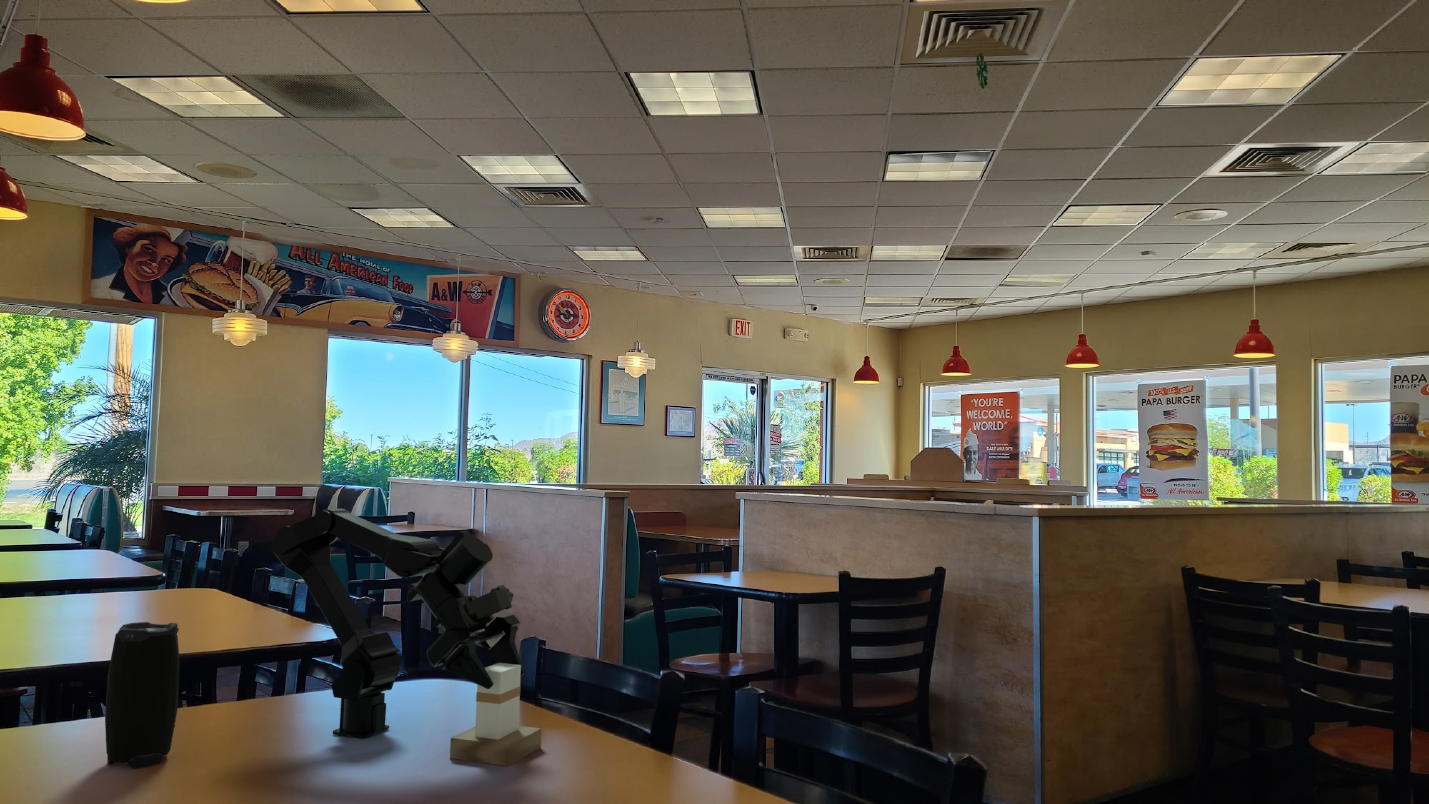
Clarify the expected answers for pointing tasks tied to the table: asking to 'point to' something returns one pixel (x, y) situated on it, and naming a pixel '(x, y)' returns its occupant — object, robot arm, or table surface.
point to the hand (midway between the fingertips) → (506, 680)
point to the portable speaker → (142, 694)
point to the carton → (498, 702)
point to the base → (496, 746)
